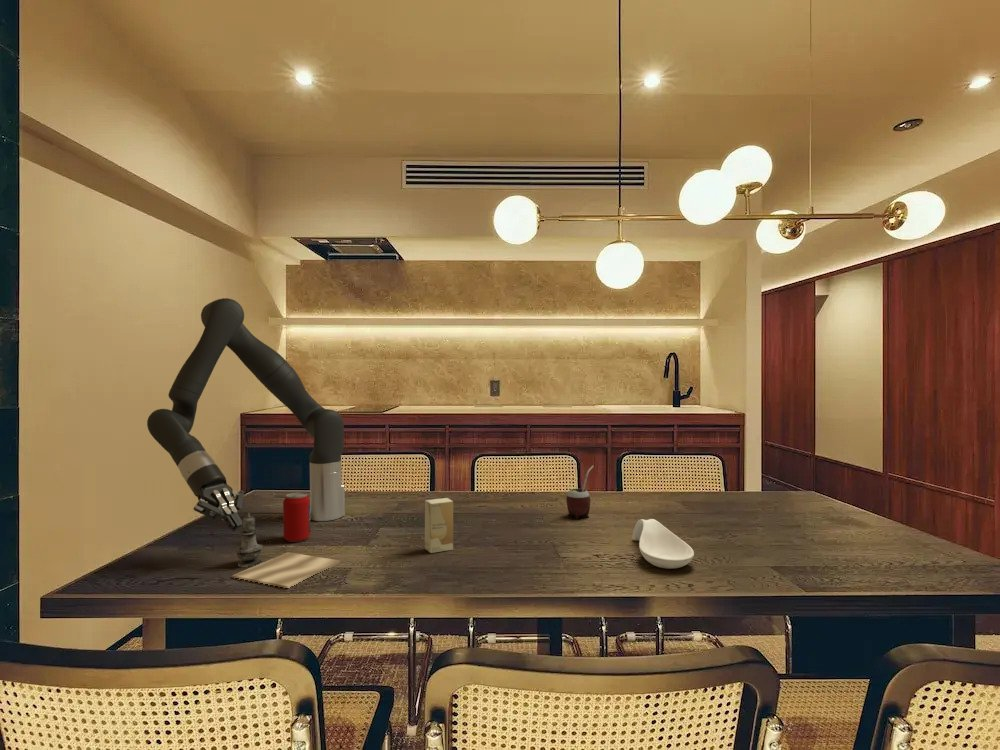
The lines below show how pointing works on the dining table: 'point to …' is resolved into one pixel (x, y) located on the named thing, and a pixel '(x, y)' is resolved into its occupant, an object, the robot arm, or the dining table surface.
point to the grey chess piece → (248, 543)
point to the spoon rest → (661, 545)
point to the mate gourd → (579, 501)
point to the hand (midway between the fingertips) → (238, 528)
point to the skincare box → (438, 525)
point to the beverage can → (296, 517)
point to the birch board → (286, 569)
